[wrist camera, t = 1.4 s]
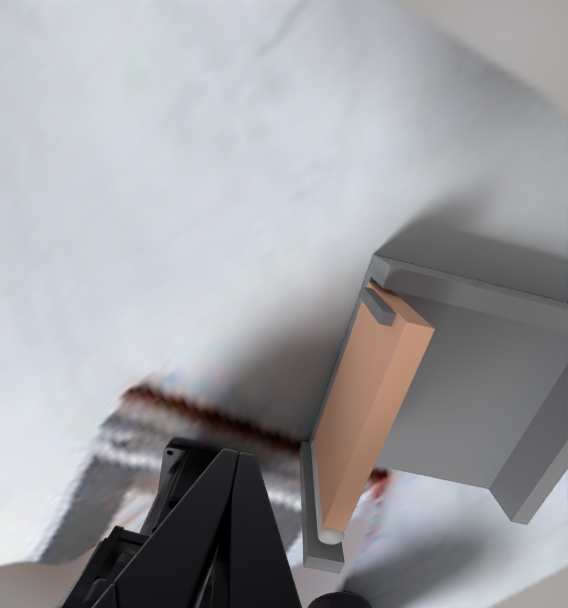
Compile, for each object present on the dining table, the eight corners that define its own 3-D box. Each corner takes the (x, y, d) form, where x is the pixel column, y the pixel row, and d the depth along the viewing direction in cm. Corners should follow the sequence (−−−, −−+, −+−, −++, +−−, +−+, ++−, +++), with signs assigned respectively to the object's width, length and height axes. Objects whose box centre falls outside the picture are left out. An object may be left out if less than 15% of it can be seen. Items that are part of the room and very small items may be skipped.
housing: (489, 489, 25) (576, 617, 17) (299, 450, 24) (303, 566, 16) (601, 311, 20) (798, 382, 12) (365, 252, 19) (416, 288, 11)
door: (327, 455, 22) (339, 546, 16) (301, 449, 22) (305, 540, 16) (389, 287, 18) (437, 329, 12) (358, 279, 18) (392, 318, 12)
